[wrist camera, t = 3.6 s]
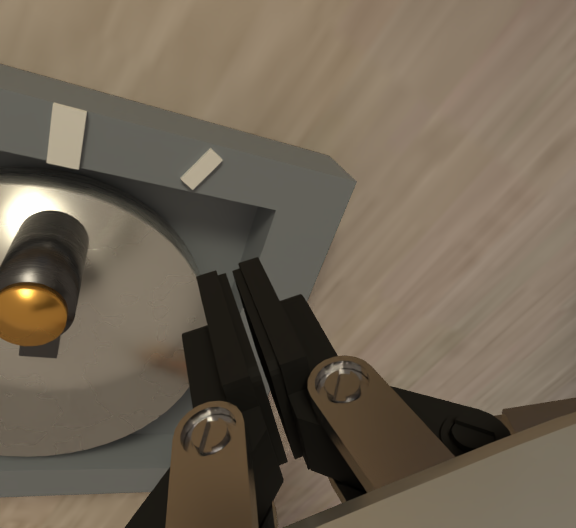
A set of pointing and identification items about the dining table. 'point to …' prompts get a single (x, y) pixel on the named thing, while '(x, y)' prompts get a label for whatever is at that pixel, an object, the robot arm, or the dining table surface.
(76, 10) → the dining table surface
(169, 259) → the dial
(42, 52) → the dining table surface
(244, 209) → the housing
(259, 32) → the dining table surface
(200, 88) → the dining table surface
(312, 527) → the robot arm
